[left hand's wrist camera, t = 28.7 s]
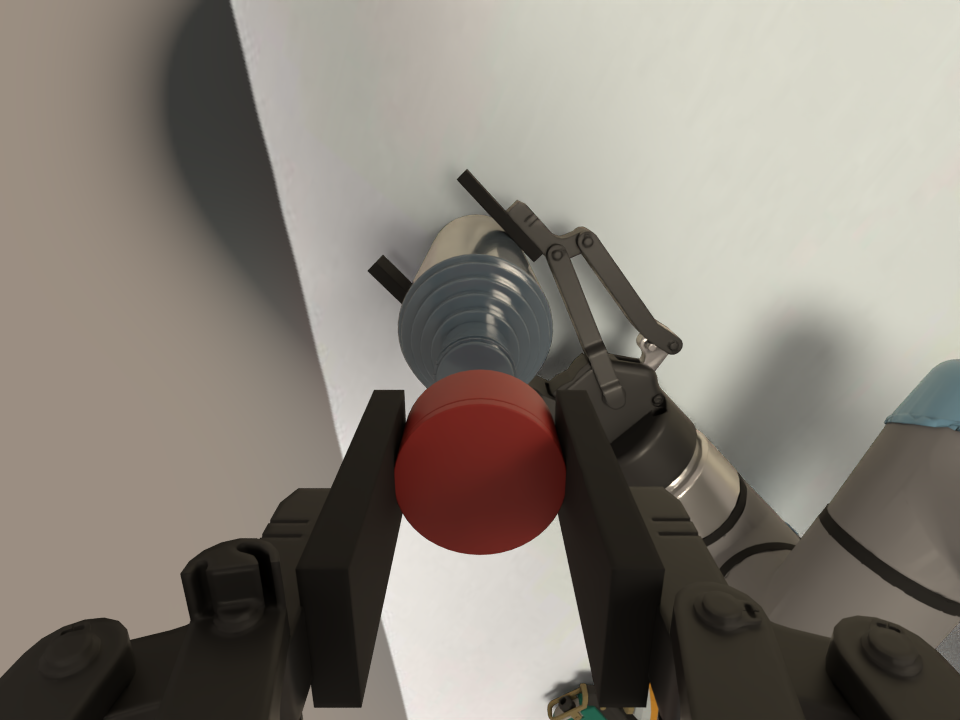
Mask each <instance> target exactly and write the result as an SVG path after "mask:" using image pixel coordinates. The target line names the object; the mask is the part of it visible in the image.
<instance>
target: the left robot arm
mask: <svg viewBox="0 0 960 720" xmlns="http://www.w3.org/2000/svg"><path fill="white" fill-rule="evenodd" d="M405 424H406V416H405V396H404V390H374V391H373V394H372V396H371V398H370V400H369V403H368V405H367V407H366V410H365V412H364V414H363V416H362V419H361V421H360V423H359V425H358V428H357V430H356V432H355V435H354V437H353V439H352V441H351V444H350V446H349V448H348V450H347V453H346V455H345V457H344V460H343V462H342V464H341V466H340V469H339V471H338V473H337V475H336V478H335V480H334V482H333V485H332V487H331V488H298V489H297V490H296V491H294V492H293V493H292V494H291V495H289V496H288V497H287V498H286V499H284V500H283V501H282V502H280V504H279V506H278V507H277V509H276V511H275V513H274V514H273V516H272V518H271V520H270V523H269V524H268V525H267V527H266V528H265V530H264V532H263V534H262V538H260V539H257V538H239V539H235V540H230V541H226V542H222V543H219V544H217V545H215V546H212V547H210V548H208V549H206V550H204V551H202V552H201V553H200V554H198V555H197V556H196V557H194V558H193V559H192V560H190V561H189V562H188V564H187V565H186V567H185V568H184V569H183V571H182V572H181V579H182V584H183V588H184V593H185V597H186V602H187V606H188V611H189V615H190V620H191V621H190V624H188V625H185V626H182V627H179V628H176V629H173V630H170V631H165V632H161V633H157V634H153V635H149V636H145V637H141V638H137V639H132V640H130V639H129V635H128V631H127V629H126V628H125V627H124V626H123V625H122V624H121V623H120V622H119V621H116V620H112V619H108V618H96V619H87V620H82V621H79V622H76V623H73V624H70V625H67V626H64V627H62V628H60V629H58V630H57V631H55V632H53V633H51V634H49V635H47V636H46V637H44V638H42V639H41V640H40V641H38V642H37V643H36V644H35V645H34V646H32V647H31V648H30V649H29V650H28V651H26V652H25V653H24V654H23V655H22V656H21V657H20V658H19V659H18V660H17V661H16V662H15V663H14V664H13V665H12V666H11V667H10V669H9V670H8V671H7V672H6V673H5V674H4V675H3V676H2V677H1V678H0V720H303V715H302V711H303V707H304V704H305V701H306V698H307V695H308V692H309V689H310V685H311V688H312V696H313V703H314V707H315V708H361V707H362V702H363V697H364V693H365V688H366V683H367V678H368V674H369V669H370V664H371V660H372V655H373V650H374V646H375V641H376V636H377V631H378V627H379V622H380V617H381V613H382V608H383V603H384V599H385V594H386V589H387V584H388V580H389V575H390V570H391V566H392V561H393V556H394V551H395V547H396V542H397V537H398V533H399V528H400V523H401V518H402V514H403V513H402V511H401V509H400V507H399V505H398V503H397V500H396V493H395V476H394V466H395V461H396V458H397V454H398V450H399V447H400V443H401V439H402V436H403V432H404V428H405ZM554 424H555V427H556V431H557V435H558V438H559V442H560V446H561V449H562V453H563V457H564V460H565V464H566V482H565V497H564V501H563V503H562V506H561V508H560V510H559V512H558V517H559V521H560V526H561V531H562V536H563V540H564V545H565V550H566V554H567V559H568V564H569V569H570V573H571V578H572V583H573V587H574V592H575V597H576V601H577V606H578V611H579V616H580V620H581V625H582V630H583V634H584V639H585V644H586V649H587V653H588V658H589V663H590V667H591V672H592V677H593V682H594V686H595V691H596V696H597V700H598V705H599V708H646V706H647V699H648V691H649V684H651V688H652V691H653V694H654V697H655V700H656V703H657V706H658V715H657V720H960V674H959V673H958V672H957V671H956V670H955V669H954V668H953V667H952V666H951V665H950V663H949V662H948V661H947V660H946V659H945V658H944V657H943V656H942V655H941V654H940V653H939V652H938V651H937V650H936V649H934V648H933V647H932V646H931V645H930V644H928V643H927V642H926V641H925V640H923V639H922V638H921V637H920V636H918V635H916V634H915V633H913V632H911V631H909V630H907V629H905V628H904V627H902V626H900V625H898V624H895V623H892V622H889V621H886V620H883V619H880V618H877V617H868V616H859V615H856V616H852V617H847V618H843V619H841V620H840V621H839V622H838V624H837V625H836V626H835V627H834V629H833V633H832V637H831V638H830V637H825V636H821V635H817V634H813V633H809V632H805V631H801V630H796V629H792V628H789V627H786V626H782V625H779V624H776V623H774V622H772V621H770V620H769V618H768V617H767V615H766V613H765V612H764V610H763V609H762V607H761V606H760V605H759V604H758V603H757V602H755V601H754V600H753V599H752V598H751V597H750V596H748V595H747V594H745V593H743V592H741V591H739V590H737V589H735V588H733V587H731V586H729V585H728V583H727V582H726V580H725V578H724V576H723V575H722V573H721V571H720V569H719V568H718V566H717V564H716V562H715V561H714V559H713V557H712V555H711V553H710V552H709V550H708V548H707V546H706V545H705V543H704V541H703V539H702V538H701V536H699V535H698V531H697V529H696V527H695V525H694V524H693V522H692V521H690V517H689V515H688V513H687V511H686V510H685V508H684V506H683V504H682V503H681V501H680V500H679V499H677V498H676V497H675V496H674V495H672V494H671V493H670V492H669V491H667V490H666V489H665V488H663V487H629V486H628V484H627V481H626V479H625V477H624V475H623V472H622V470H621V468H620V465H619V463H618V461H617V459H616V456H615V454H614V452H613V450H612V447H611V445H610V443H609V440H608V438H607V436H606V434H605V431H604V429H603V427H602V425H601V422H600V420H599V418H598V415H597V413H596V411H595V409H594V406H593V404H592V402H591V400H590V397H589V395H588V393H587V390H556V403H555V423H554Z"/></svg>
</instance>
